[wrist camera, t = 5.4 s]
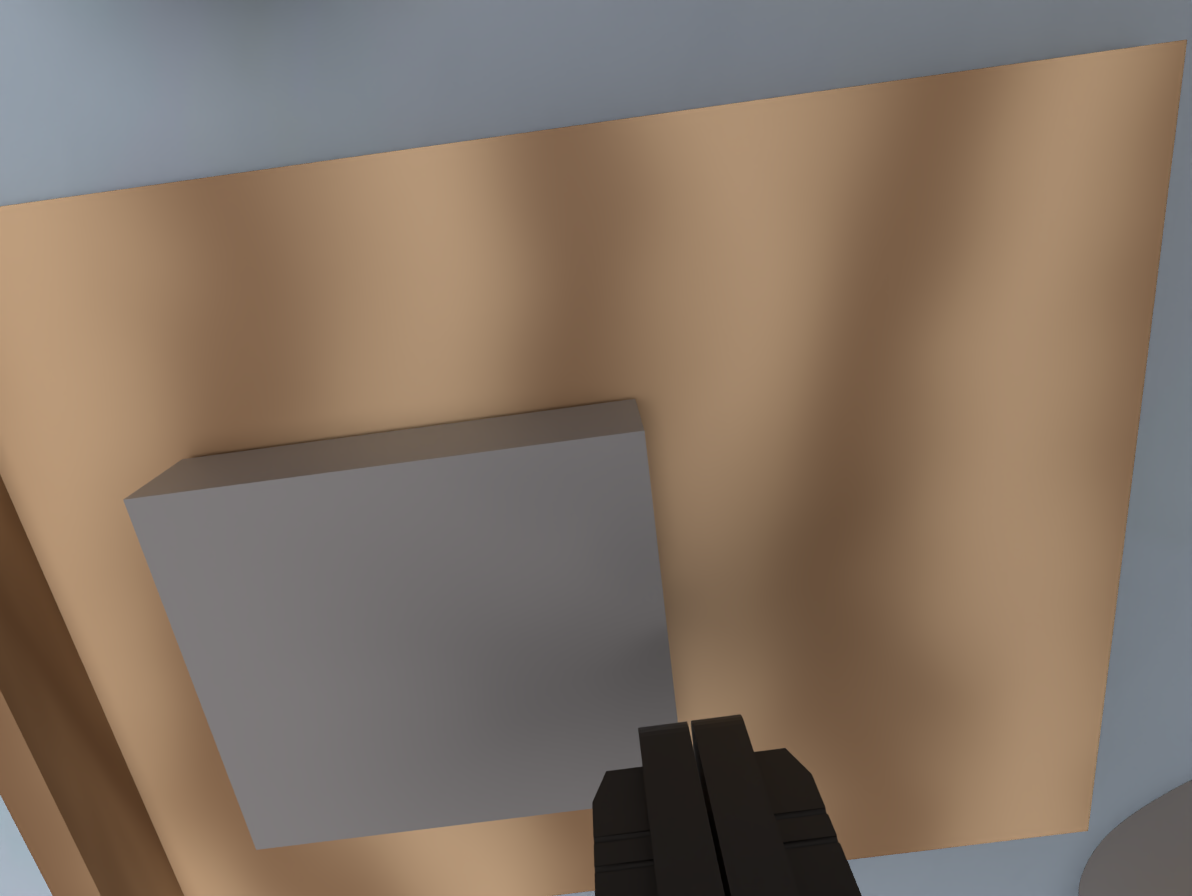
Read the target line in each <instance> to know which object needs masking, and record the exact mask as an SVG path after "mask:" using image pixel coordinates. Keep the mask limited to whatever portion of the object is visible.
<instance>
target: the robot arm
mask: <svg viewBox="0 0 1192 896" xmlns="http://www.w3.org/2000/svg"><path fill="white" fill-rule="evenodd" d="M691 731H692V740H693V745H692V740H691V735H690V731H689V726H688V723H687V721H686V722H678V723H670V724H662V725H655V726H647V727H639V728H638V733H639V741H640V750H641V758H642V767H635V768H627V769H619V770H611V771H606V772H605V775H604V777H603V779H602V782H601V784H600V786H599V788H598V791H597V793H596V795H595V797H594V800H593V802H592V810H593V838H594V868H595V874H594V875H595V896H862V895H861V893H860V891H859V888H858V886H857V883H856V881H855V878H854V876H853V873H852V871H851V869H850V866H849V864H848V861H847V859H846V856H845V854H844V851H843V849H842V847H841V844H840V843H839V842H838V839H837V834H836V832H835V829H834V827H833V825H832V822H831V820H830V817H829V815H828V814H827V813H826V808H825V805H824V803H823V800H822V798H821V795H820V793H819V790H818V788H817V785H816V783H815V781H814V778H813V776H812V774H811V773H810V772H809V771H808V770H807V769H806V768H805V767H804V766H803V765H802V764H801V763H800V762H799V761H798V760H797V759H796V758H795V757H794V756H793V755H792V754H791V753H790V752H789V751H788V750H787V749H786V748H781V749H773V750H765V751H757V752H754V750H753V747H752V744H751V741H750V738H749V735H748V732H747V729H746V726H745V723H744V720H743V717H742V715H741V714H738V715H730V716H723V717H715V718H707V719H699V720H692V721H691Z"/></svg>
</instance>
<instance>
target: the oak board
mask: <svg viewBox="0 0 1192 896" xmlns="http://www.w3.org/2000/svg"><path fill="white" fill-rule="evenodd" d="M1186 44H1187V40H1181V41H1174V42H1167V43H1160V44H1152V45H1145V46H1138V47H1131V48H1124V49H1117V50H1110V51H1103V52H1096V53H1088V54H1081V55H1074V56H1067V57H1060V58H1053V59H1046V60H1039V61H1032V62H1025V63H1017V64H1010V65H1003V66H996V67H989V68H982V69H975V70H968V71H961V72H953V73H946V74H939V75H932V76H925V77H918V78H911V79H904V80H897V81H889V82H882V83H875V84H868V85H861V86H854V87H847V88H840V89H833V90H826V91H818V92H811V93H804V94H797V95H790V96H783V97H776V98H769V99H762V100H754V101H747V102H740V103H733V104H726V105H719V106H712V107H705V108H698V109H690V110H683V111H676V112H669V113H662V114H655V115H648V116H641V117H634V118H626V119H619V120H612V121H605V122H598V123H591V124H584V125H577V126H570V127H563V128H555V129H548V130H541V131H534V132H527V133H520V134H513V135H506V136H499V137H491V138H484V139H477V140H470V141H463V142H456V143H449V144H442V145H435V146H427V147H420V148H413V149H406V150H399V151H392V152H385V153H378V154H371V155H364V156H356V157H349V158H342V159H335V160H328V161H321V162H314V163H307V164H300V165H292V166H285V167H278V168H271V169H264V170H257V171H250V172H243V173H236V174H228V175H221V176H214V177H207V178H200V179H193V180H186V181H179V182H172V183H165V184H157V185H150V186H143V187H136V188H129V189H122V190H115V191H108V192H101V193H93V194H86V195H79V196H72V197H65V198H58V199H51V200H44V201H37V202H29V203H22V204H15V205H8V206H1V207H0V795H1V797H2V799H3V801H4V803H5V805H6V806H7V808H8V810H9V812H10V814H11V816H12V818H13V820H14V822H15V824H16V826H17V828H18V830H19V832H20V833H21V835H22V837H23V839H24V841H25V843H26V845H27V847H28V849H29V851H30V853H31V855H32V857H33V858H34V860H35V862H36V864H37V866H38V868H39V870H40V872H41V874H42V876H43V878H44V880H45V882H46V884H47V885H48V887H49V889H50V891H51V893H52V895H53V896H553V895H561V894H570V893H578V892H586V891H594V890H595V875H594V874H595V868H594V838H593V810H592V809H585V810H576V811H568V812H560V813H552V814H544V815H536V816H528V817H520V818H511V819H503V820H495V821H487V822H479V823H471V824H463V825H455V826H446V827H438V828H430V829H422V830H414V831H406V832H398V833H390V834H381V835H373V836H365V837H357V838H349V839H341V840H333V841H325V842H316V843H308V844H300V845H292V846H284V847H276V848H268V849H260V850H256V848H255V845H254V843H253V840H252V837H251V835H250V832H249V830H248V827H247V824H246V822H245V819H244V816H243V814H242V811H241V808H240V806H239V803H238V801H237V798H236V795H235V793H234V790H233V787H232V785H231V782H230V780H229V777H228V774H227V772H226V769H225V766H224V764H223V761H222V759H221V756H220V753H219V751H218V748H217V745H216V743H215V740H214V737H213V735H212V732H211V730H210V727H209V724H208V722H207V719H206V716H205V714H204V711H203V709H202V706H201V703H200V701H199V698H198V695H197V693H196V690H195V688H194V685H193V682H192V680H191V677H190V674H189V672H188V669H187V666H186V664H185V661H184V659H183V656H182V653H181V651H180V648H179V645H178V643H177V640H176V638H175V635H174V632H173V630H172V627H171V624H170V622H169V619H168V617H167V614H166V611H165V609H164V606H163V603H162V601H161V598H160V595H159V593H158V590H157V588H156V585H155V582H154V580H153V577H152V574H151V572H150V569H149V567H148V564H147V561H146V559H145V556H144V553H143V551H142V548H141V546H140V543H139V540H138V538H137V535H136V532H135V530H134V527H133V524H132V522H131V519H130V517H129V514H128V511H127V509H126V506H125V503H124V501H123V499H125V498H126V497H128V496H129V495H131V494H132V493H134V492H135V491H137V490H138V489H139V488H141V487H142V486H144V485H145V484H147V483H148V482H150V481H151V480H153V479H154V478H156V477H157V476H158V475H160V474H161V473H163V472H164V471H166V470H167V469H169V468H170V467H172V466H173V465H174V464H176V463H177V462H179V461H180V460H182V459H187V458H194V457H202V456H209V455H217V454H224V453H232V452H239V451H247V450H254V449H262V448H269V447H277V446H284V445H292V444H299V443H307V442H314V441H322V440H329V439H337V438H344V437H352V436H359V435H367V434H374V433H382V432H389V431H397V430H404V429H412V428H419V427H427V426H434V425H442V424H449V423H457V422H464V421H472V420H479V419H487V418H494V417H502V416H509V415H517V414H524V413H532V412H539V411H547V410H554V409H562V408H569V407H577V406H584V405H592V404H599V403H607V402H614V401H622V400H629V399H636V403H637V406H638V410H639V413H640V417H641V420H642V424H643V427H644V431H645V440H646V448H647V457H648V466H649V475H650V483H651V492H652V501H653V510H654V518H655V527H656V536H657V544H658V553H659V562H660V571H661V579H662V588H663V597H664V606H665V614H666V623H667V632H668V641H669V649H670V658H671V667H672V676H673V684H674V693H675V702H676V711H677V719H678V722H686V721H687V723H688V726H689V731H690V735H691V740H692V731H691V721H692V720H699V719H707V718H715V717H723V716H730V715H738V714H741V715H742V717H743V720H744V723H745V726H746V729H747V732H748V735H749V738H750V741H751V744H752V747H753V750H754V752H757V751H765V750H773V749H781V748H786V749H787V750H788V751H789V752H790V753H791V754H792V755H793V756H794V757H795V758H796V759H797V760H798V761H799V762H800V763H801V764H802V765H803V766H804V767H805V768H806V769H807V770H808V771H809V772H810V773H811V774H812V776H813V778H814V781H815V783H816V785H817V788H818V790H819V793H820V795H821V798H822V800H823V803H824V805H825V808H826V813H827V814H828V815H829V817H830V820H831V822H832V825H833V827H834V829H835V832H836V834H837V839H838V842H839V843H840V844H841V847H842V849H843V851H844V854H845V856H846V859H847V860H851V859H859V858H867V857H875V856H884V855H892V854H900V853H908V852H917V851H925V850H933V849H942V848H950V847H958V846H966V845H975V844H983V843H991V842H999V841H1008V840H1016V839H1024V838H1032V837H1041V836H1049V835H1057V834H1066V833H1074V832H1082V831H1088V826H1089V818H1090V810H1091V802H1092V794H1093V786H1094V778H1095V770H1096V762H1097V754H1098V746H1099V738H1100V730H1101V722H1102V714H1103V706H1104V698H1105V691H1106V683H1107V675H1108V667H1109V659H1110V651H1111V643H1112V635H1113V627H1114V619H1115V611H1116V603H1117V595H1118V587H1119V579H1120V571H1121V563H1122V555H1123V547H1124V539H1125V531H1126V523H1127V515H1128V507H1129V499H1130V491H1131V483H1132V475H1133V467H1134V459H1135V451H1136V443H1137V435H1138V427H1139V419H1140V411H1141V403H1142V395H1143V387H1144V379H1145V371H1146V363H1147V356H1148V348H1149V340H1150V332H1151V324H1152V316H1153V308H1154V300H1155V292H1156V284H1157V276H1158V268H1159V260H1160V252H1161V244H1162V236H1163V228H1164V220H1165V212H1166V204H1167V196H1168V188H1169V180H1170V172H1171V164H1172V156H1173V148H1174V140H1175V132H1176V124H1177V116H1178V108H1179V100H1180V92H1181V84H1182V76H1183V68H1184V60H1185V52H1186ZM692 745H693V740H692Z"/></svg>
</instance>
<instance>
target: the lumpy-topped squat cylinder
mask: <svg viewBox="0 0 1192 896" xmlns="http://www.w3.org/2000/svg"><path fill="white" fill-rule="evenodd" d="M1079 896H1192V780H1191V781H1188V782H1186V783H1184V784H1182V785H1180V786H1179V787H1177V788H1175V789H1173V790H1171V791H1169V792H1168V793H1166V794H1164V795H1162V796H1161V797H1159V798H1157V799H1156V800H1154V801H1152V802H1151V803H1149V804H1147V805H1146V806H1144V807H1143V808H1141V809H1140V810H1138V811H1137V812H1135V813H1134V814H1132V815H1131V816H1130V817H1128V818H1127V819H1126V820H1124V821H1123V822H1122V823H1120V824H1119V825H1118V826H1117V827H1116V828H1114V829H1113V830H1112V831H1111V832H1110V833H1109V834H1108V835H1107V836H1106V837H1105V838H1104V839H1103V840H1102V841H1101V843H1100V844H1099V845H1098V846H1097V848H1096V849H1095V851H1094V852H1093V854H1092V855H1091V857H1090V858H1089V860H1088V862H1087V864H1086V866H1085V868H1084V871H1083V874H1082V877H1081V880H1080V885H1079Z"/></svg>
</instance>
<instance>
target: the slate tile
mask: <svg viewBox="0 0 1192 896" xmlns="http://www.w3.org/2000/svg"><path fill="white" fill-rule="evenodd" d="M123 501H124V503H125V506H126V509H127V511H128V514H129V517H130V519H131V522H132V524H133V527H134V530H135V532H136V535H137V538H138V540H139V543H140V546H141V548H142V551H143V553H144V556H145V559H146V561H147V564H148V567H149V569H150V572H151V574H152V577H153V580H154V582H155V585H156V588H157V590H158V593H159V595H160V598H161V601H162V603H163V606H164V609H165V611H166V614H167V617H168V619H169V622H170V624H171V627H172V630H173V632H174V635H175V638H176V640H177V643H178V645H179V648H180V651H181V653H182V656H183V659H184V661H185V664H186V666H187V669H188V672H189V674H190V677H191V680H192V682H193V685H194V688H195V690H196V693H197V695H198V698H199V701H200V703H201V706H202V709H203V711H204V714H205V716H206V719H207V722H208V724H209V727H210V730H211V732H212V735H213V737H214V740H215V743H216V745H217V748H218V751H219V753H220V756H221V759H222V761H223V764H224V766H225V769H226V772H227V774H228V777H229V780H230V782H231V785H232V787H233V790H234V793H235V795H236V798H237V801H238V803H239V806H240V808H241V811H242V814H243V816H244V819H245V822H246V824H247V827H248V830H249V832H250V835H251V837H252V840H253V843H254V845H255V848H256V850H260V849H268V848H276V847H284V846H292V845H300V844H308V843H316V842H325V841H333V840H341V839H349V838H357V837H365V836H373V835H381V834H390V833H398V832H406V831H414V830H422V829H430V828H438V827H446V826H455V825H463V824H471V823H479V822H487V821H495V820H503V819H511V818H520V817H528V816H536V815H544V814H552V813H560V812H568V811H576V810H585V809H592V802H593V800H594V797H595V795H596V793H597V791H598V788H599V786H600V784H601V782H602V779H603V777H604V775H605V772H606V771H611V770H619V769H627V768H635V767H642V758H641V750H640V741H639V733H638V728H639V727H647V726H655V725H662V724H670V723H678V719H677V711H676V702H675V693H674V684H673V676H672V667H671V658H670V649H669V641H668V632H667V623H666V614H665V606H664V597H663V588H662V579H661V571H660V562H659V553H658V544H657V536H656V527H655V518H654V510H653V501H652V492H651V483H650V475H649V466H648V457H647V448H646V440H645V431H644V427H643V424H642V420H641V417H640V413H639V410H638V406H637V403H636V399H629V400H622V401H614V402H607V403H599V404H592V405H584V406H577V407H569V408H562V409H554V410H547V411H539V412H532V413H524V414H517V415H509V416H502V417H494V418H487V419H479V420H472V421H464V422H457V423H449V424H442V425H434V426H427V427H419V428H412V429H404V430H397V431H389V432H382V433H374V434H367V435H359V436H352V437H344V438H337V439H329V440H322V441H314V442H307V443H299V444H292V445H284V446H277V447H269V448H262V449H254V450H247V451H239V452H232V453H224V454H217V455H209V456H202V457H194V458H187V459H182V460H180V461H179V462H177V463H176V464H174V465H173V466H172V467H170V468H169V469H167V470H166V471H164V472H163V473H161V474H160V475H158V476H157V477H156V478H154V479H153V480H151V481H150V482H148V483H147V484H145V485H144V486H142V487H141V488H139V489H138V490H137V491H135V492H134V493H132V494H131V495H129V496H128V497H126V498H125V499H123Z"/></svg>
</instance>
